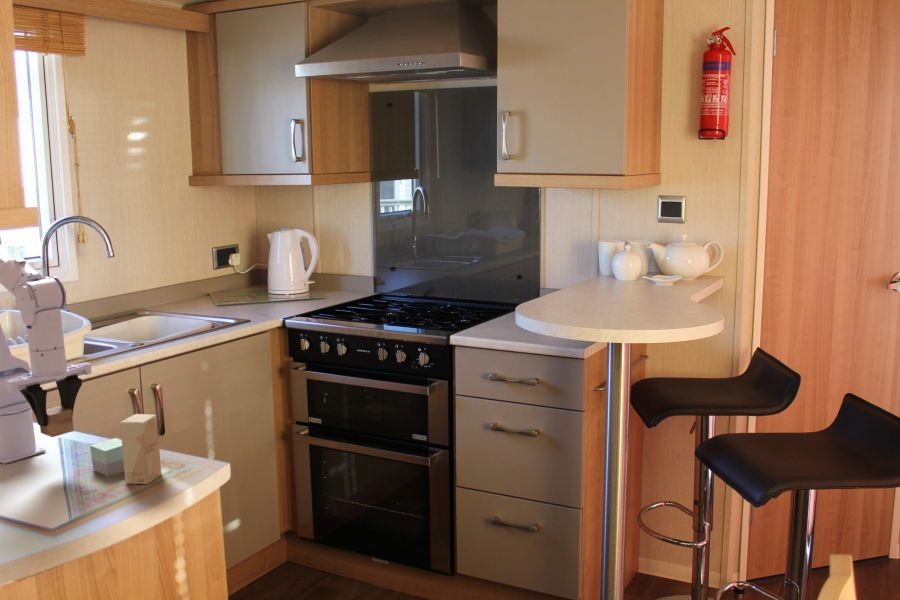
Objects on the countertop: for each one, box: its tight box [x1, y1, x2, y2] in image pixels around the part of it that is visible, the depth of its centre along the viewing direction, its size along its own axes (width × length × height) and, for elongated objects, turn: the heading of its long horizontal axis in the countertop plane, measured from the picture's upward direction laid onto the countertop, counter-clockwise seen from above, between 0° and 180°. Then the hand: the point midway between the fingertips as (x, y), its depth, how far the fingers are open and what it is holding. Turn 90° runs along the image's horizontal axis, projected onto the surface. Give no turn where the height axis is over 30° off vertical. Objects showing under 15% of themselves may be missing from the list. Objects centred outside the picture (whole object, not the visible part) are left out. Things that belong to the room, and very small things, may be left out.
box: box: [119, 413, 162, 485], centre depth 155 cm, size 5×4×11 cm
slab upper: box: [89, 437, 123, 465], centre depth 161 cm, size 5×5×2 cm
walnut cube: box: [39, 405, 75, 438], centre depth 159 cm, size 4×4×4 cm
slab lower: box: [91, 458, 125, 477], centre depth 161 cm, size 5×5×2 cm
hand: (55, 421), depth 159 cm, fingers closed on walnut cube, 4 cm apart
